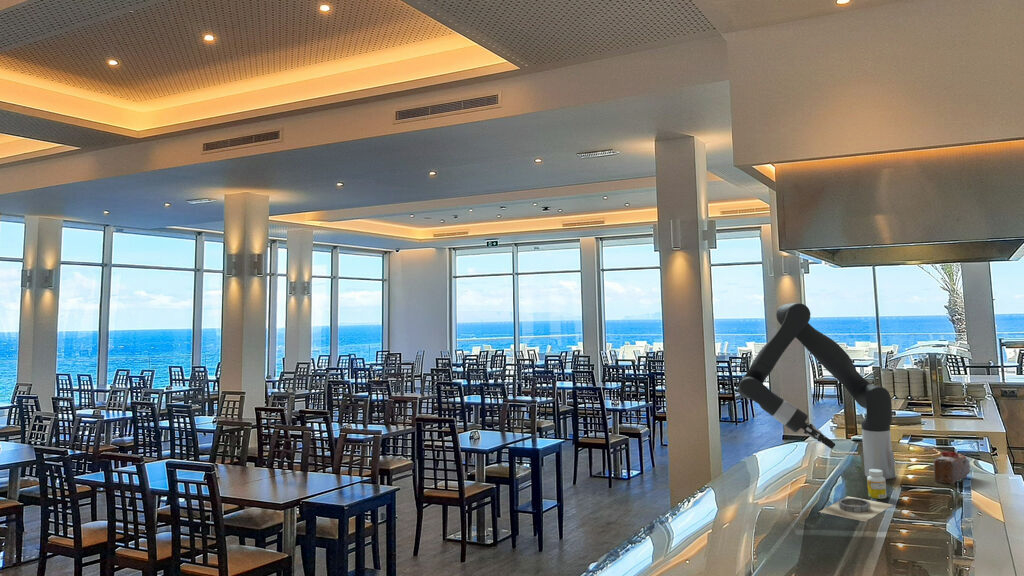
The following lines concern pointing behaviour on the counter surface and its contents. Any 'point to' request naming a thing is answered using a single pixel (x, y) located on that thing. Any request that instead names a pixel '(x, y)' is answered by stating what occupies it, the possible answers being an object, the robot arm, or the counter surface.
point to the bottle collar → (847, 502)
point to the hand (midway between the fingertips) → (832, 445)
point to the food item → (950, 467)
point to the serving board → (874, 510)
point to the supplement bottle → (876, 484)
